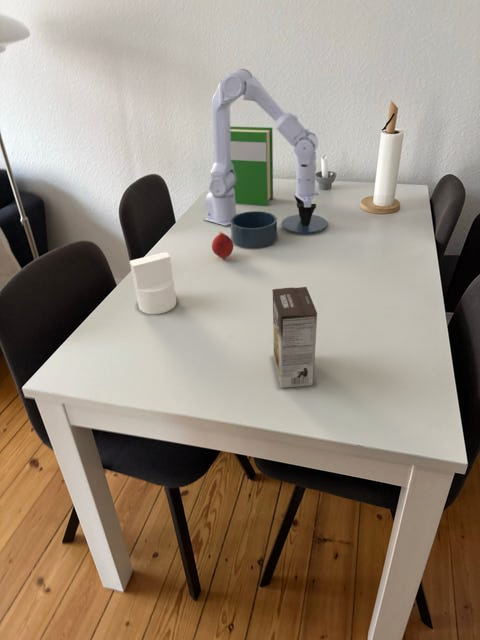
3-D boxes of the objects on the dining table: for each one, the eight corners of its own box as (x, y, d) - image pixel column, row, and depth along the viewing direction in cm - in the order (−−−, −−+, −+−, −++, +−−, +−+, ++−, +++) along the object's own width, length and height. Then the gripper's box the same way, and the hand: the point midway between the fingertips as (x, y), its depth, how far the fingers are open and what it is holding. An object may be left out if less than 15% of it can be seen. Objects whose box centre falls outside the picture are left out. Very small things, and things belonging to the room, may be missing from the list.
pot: (222, 241, 141) (221, 222, 138) (251, 226, 149) (250, 208, 146) (258, 252, 133) (257, 232, 130) (285, 236, 142) (286, 217, 138)
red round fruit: (235, 253, 134) (233, 227, 129) (232, 263, 129) (230, 236, 124) (214, 253, 134) (212, 227, 130) (211, 263, 130) (209, 236, 125)
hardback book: (273, 198, 169) (272, 127, 156) (267, 205, 163) (265, 132, 150) (227, 194, 174) (222, 126, 161) (219, 201, 169) (214, 131, 155)
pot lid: (272, 228, 147) (272, 213, 144) (298, 214, 156) (298, 199, 153) (310, 239, 139) (311, 223, 136) (336, 223, 148) (337, 207, 145)
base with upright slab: (145, 318, 108) (136, 271, 102) (133, 300, 115) (124, 256, 108) (182, 307, 112) (175, 261, 105) (168, 290, 118) (162, 246, 112)
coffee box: (272, 358, 94) (271, 288, 85) (304, 355, 94) (307, 285, 85) (279, 389, 87) (279, 315, 78) (314, 385, 87) (318, 312, 78)
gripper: (322, 185, 133) (320, 230, 140) (316, 169, 145) (314, 212, 152) (297, 186, 133) (296, 231, 140) (293, 170, 145) (292, 213, 152)
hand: (304, 221), depth 146 cm, fingers open, 6 cm apart
